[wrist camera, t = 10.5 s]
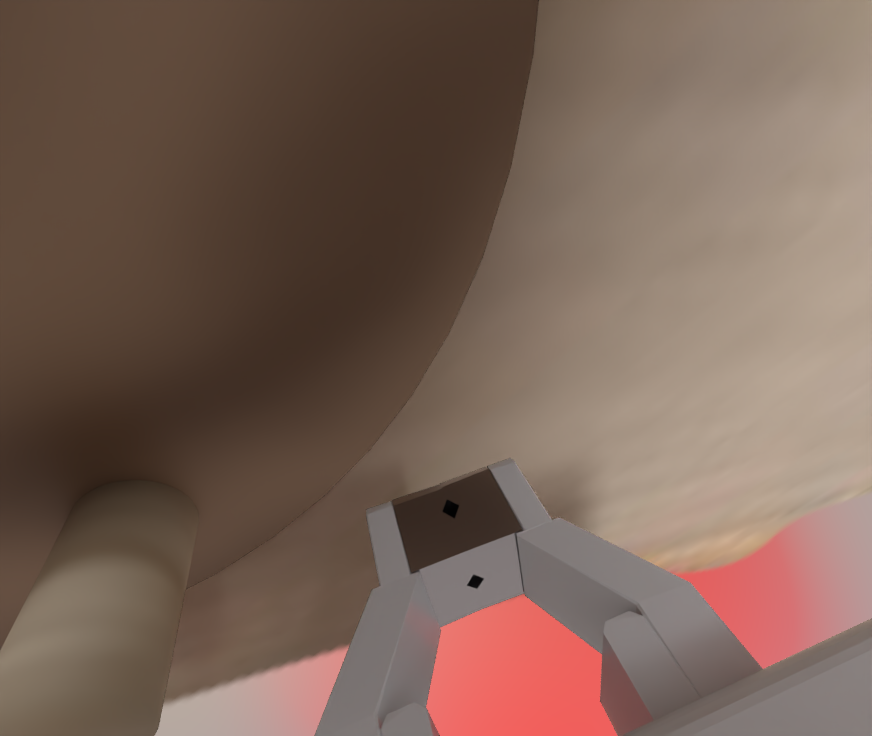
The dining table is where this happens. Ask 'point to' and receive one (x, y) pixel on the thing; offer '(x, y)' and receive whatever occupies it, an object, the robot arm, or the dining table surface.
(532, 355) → the dining table surface
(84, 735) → the lazy susan
